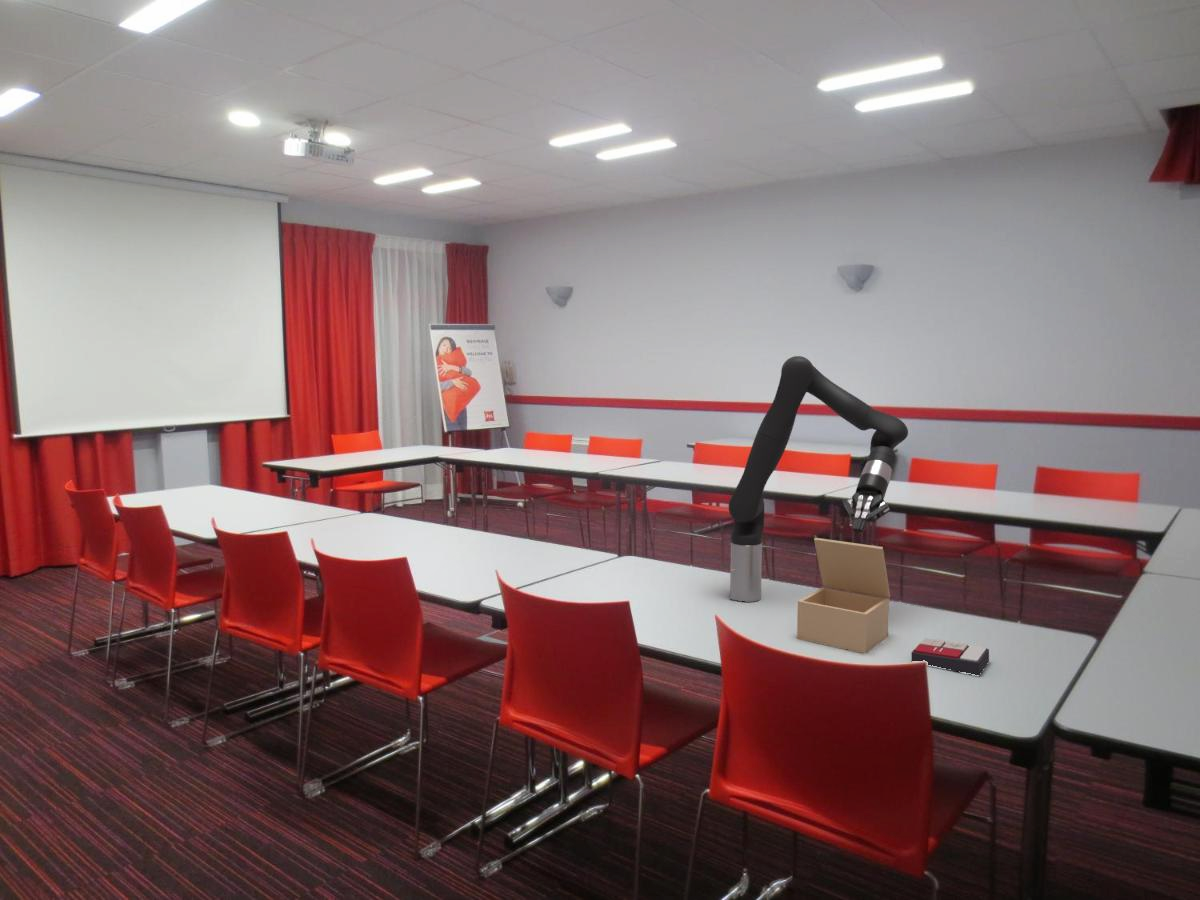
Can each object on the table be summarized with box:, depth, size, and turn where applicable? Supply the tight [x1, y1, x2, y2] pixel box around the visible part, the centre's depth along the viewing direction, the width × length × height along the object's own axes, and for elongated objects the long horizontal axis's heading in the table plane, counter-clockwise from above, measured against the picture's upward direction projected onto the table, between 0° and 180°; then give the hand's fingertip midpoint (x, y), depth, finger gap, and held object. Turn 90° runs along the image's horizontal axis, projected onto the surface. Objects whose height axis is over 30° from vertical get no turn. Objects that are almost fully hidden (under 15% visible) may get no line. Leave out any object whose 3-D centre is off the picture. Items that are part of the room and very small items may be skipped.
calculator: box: [910, 637, 990, 676], centre depth 192 cm, size 11×4×15 cm
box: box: [796, 586, 890, 654], centre depth 209 cm, size 16×18×10 cm
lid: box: [813, 537, 891, 599], centre depth 211 cm, size 16×18×1 cm
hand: (856, 532), depth 212 cm, fingers closed
